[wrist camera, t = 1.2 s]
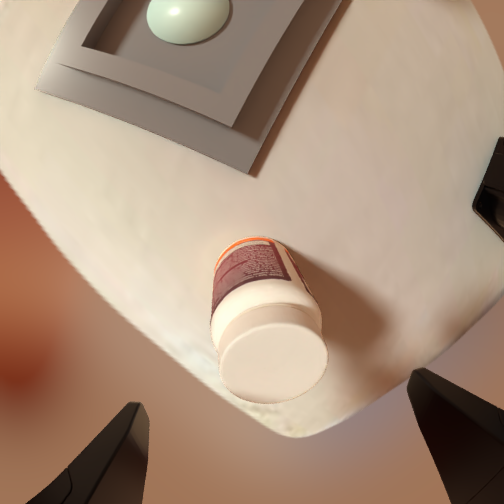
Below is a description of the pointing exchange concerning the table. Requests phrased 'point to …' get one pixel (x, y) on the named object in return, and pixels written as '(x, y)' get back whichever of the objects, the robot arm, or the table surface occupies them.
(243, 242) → the pill bottle
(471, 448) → the robot arm
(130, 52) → the grey flat square tray
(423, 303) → the table surface
